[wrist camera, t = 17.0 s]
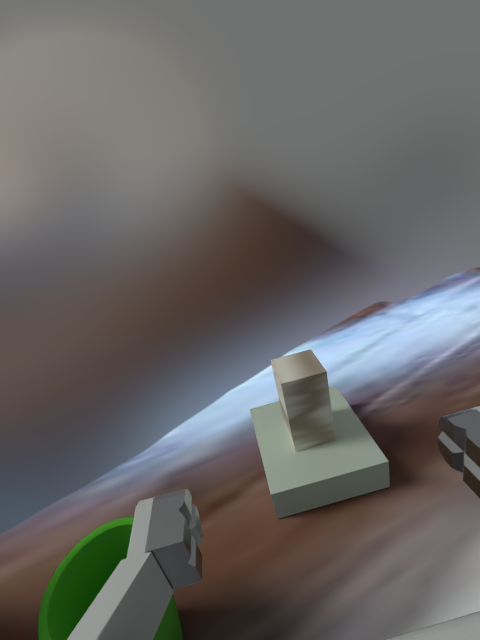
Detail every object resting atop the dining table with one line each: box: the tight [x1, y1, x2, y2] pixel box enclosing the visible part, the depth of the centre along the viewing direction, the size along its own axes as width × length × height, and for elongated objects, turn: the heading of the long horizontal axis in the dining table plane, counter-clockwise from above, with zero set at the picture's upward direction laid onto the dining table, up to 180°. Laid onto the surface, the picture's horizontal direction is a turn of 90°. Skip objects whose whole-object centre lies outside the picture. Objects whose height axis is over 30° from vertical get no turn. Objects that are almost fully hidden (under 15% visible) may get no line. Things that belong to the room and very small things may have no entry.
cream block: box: [271, 349, 336, 452], centre depth 38 cm, size 5×5×10 cm
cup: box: [38, 517, 182, 640], centre depth 25 cm, size 9×9×11 cm
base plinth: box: [250, 386, 390, 519], centre depth 41 cm, size 13×14×4 cm
